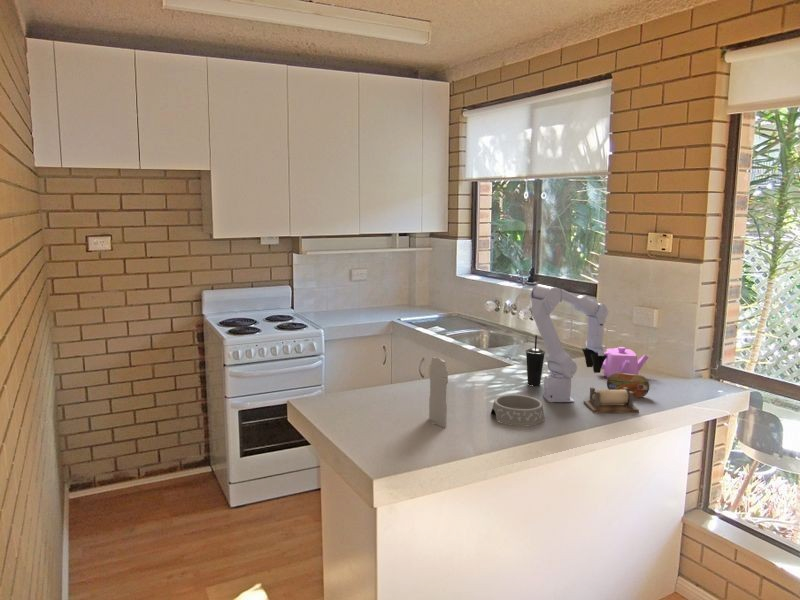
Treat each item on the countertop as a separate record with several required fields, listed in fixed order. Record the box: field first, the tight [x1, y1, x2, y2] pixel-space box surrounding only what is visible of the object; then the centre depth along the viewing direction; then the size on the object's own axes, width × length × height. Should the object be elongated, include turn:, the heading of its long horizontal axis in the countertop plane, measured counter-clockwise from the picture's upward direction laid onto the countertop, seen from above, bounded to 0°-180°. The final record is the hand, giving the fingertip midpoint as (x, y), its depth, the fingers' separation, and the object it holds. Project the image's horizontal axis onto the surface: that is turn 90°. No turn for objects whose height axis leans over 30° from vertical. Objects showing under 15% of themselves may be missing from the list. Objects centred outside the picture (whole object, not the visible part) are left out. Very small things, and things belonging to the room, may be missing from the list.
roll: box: [592, 389, 628, 404], centre depth 218 cm, size 13×5×5 cm, turn 93°
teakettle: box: [601, 346, 650, 379], centre depth 257 cm, size 17×17×12 cm
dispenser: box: [428, 356, 449, 428], centre depth 200 cm, size 11×4×22 cm, turn 28°
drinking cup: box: [525, 334, 546, 387], centre depth 243 cm, size 8×8×20 cm
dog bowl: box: [490, 394, 546, 427], centre depth 209 cm, size 17×18×5 cm
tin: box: [606, 373, 650, 399], centre depth 232 cm, size 15×3×8 cm, turn 62°
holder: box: [583, 387, 640, 414], centre depth 218 cm, size 16×10×6 cm, turn 93°
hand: (593, 369), depth 232 cm, fingers open, 7 cm apart
